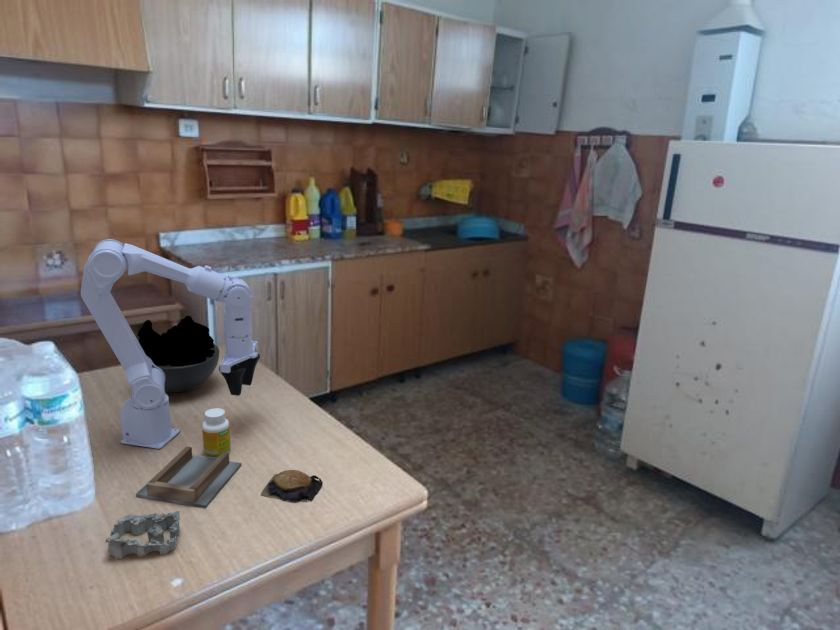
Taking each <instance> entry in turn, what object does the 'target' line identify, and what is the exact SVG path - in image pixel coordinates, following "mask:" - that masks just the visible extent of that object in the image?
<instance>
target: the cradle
mask: <svg viewBox="0 0 840 630" xmlns="http://www.w3.org/2000/svg"><path fill="white" fill-rule="evenodd" d="M229 454H230V453H228V452H223V453H222V454H221V455H220V456H219V457H218V458H217V459H212V458H207V457H206V456H204V457H203V456H198V455H193V447H192V446H185V447H184V448H183V449H181V451H180V452H179V453H178V454H176V456H174V457H173V458H172V459H171V460H170V461H169V462H168V463H167V464H166V465H165V466H164V467H162V469H161V470H160V471H158V473H156V474H155V475H154V476H153V477H152V478H151V479H150V480H149V481H148V482H147V483H145V485H144V486H143V487H141V488H140V490H138V491H137V492H136V494H135V497H136V498H141V499H147V500H154V501H161V502H165V503H166V502H167V503H173V504H177V505H185V506H191V507H197V508H203V509H207V508H208V506H209V505H210V504H211V503H212V501H213V500H214V499H215V498H216V497H217V495H218V494H219V493H220V492H221V490H222V489H223V488H224V487H225V486H226V485H227V483H228V482H230V480H231V479H232V478H233V476H234V475H235V474H236V473H237V471H238V470H239V469H240V468H241V467H242V462H238V461H237V462H236V461H231V460H230V455H229Z"/></svg>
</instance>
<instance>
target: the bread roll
mask: <svg viewBox="0 0 840 630" xmlns="http://www.w3.org/2000/svg"><path fill="white" fill-rule="evenodd" d="M323 483H324V482H323V481H322V479H321V478H320V477H319V476H317V475H314V474H313V475H311V476H310V475H308V474H307V473H305V472H303V471H300V470H298V469H287V470H283V471H281V472H279V473H275V474H273V475H272V477H271V478H270V479H269V480H268V483H267V484H266V485H265V487H263V490H262V491H261V492H260V496H261V497H265V498H271V499H273V500H274V499H275V500H282V501H287V502H297V503H309V502H310V503H312V502H313V501H314V499H315V498H316V497H317V494H318V493H319V492H320V491H321V489H323Z"/></svg>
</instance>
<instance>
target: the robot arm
mask: <svg viewBox="0 0 840 630" xmlns="http://www.w3.org/2000/svg"><path fill="white" fill-rule="evenodd" d="M127 270H128V272H127V275H128V276H132V275H137V274H140V273H143V272H146V273H149V274H153V275H156V276H159V277H162V278H166V279H169V280H172V281H176V282H178V283H183V284H184V285H185V287H186V288H187V291H188V292H190V293H193V294H196V295H198V296H201V297H204V298H207V299H210V300H213V301H216V302H219V303H220V302H222V303H224V314H223V315H224V317H223V318H224V332H225V333H224V336H225V337H224V338H225V353H224V355H223V358H222V361H221V362H220V363H219V366H218V371H219V373H220V374H221V375H222V377H223V378H224V380H225V382H226V384H227V387H228V390H229V393H230V395H232V396H237V397H240V396H241V394H242V389H243V387H242V386H251V385H252V384H253V383H252V382H253V379H254V374H255V371H256V370H255V369H256V367H257V365H258V362H259V360H260V358H261V355H260V353H258V352H256V351H257V350H258V349H259V342H258V341H256V340H253V323H252V322H253V321H252V320H253V319H252V318H253V317H252V314H253V313H252V312H251V309H252V306H251V305H252V303H253V301H254V297H253V295H252V292H251V288H250V287H249V285H248V284H247V282H246V281H245V280H244V279H241V278H240V277H238V276H234V275H231V274H228V276H227V275H225V274H222V273H219V272H217V271H214V270H212V266H210V265H204V267H203V266H201V265H197V266H195V267H192V268H189V267H186V266H184V265H181V264H179V263H177V262H175V261H172V260H170V259H167V258H164V257H163V256H161V255H158V254H155V253H152V252H150V251H148V250H146V249H143V248H140V247H138V246H136V245H133V244H130V243H124V244H123V243H122V242H120V241H119V240H116V239H110V238H109V239H108V238H107V239H104V240H101V241H99V242H97V244H96V245H95V246H94V247H93V250H92V251H91V253H90V255H89V257H88V258H87V261H86V262H85V263H84V266H83V273H82V280H81V287H80V297H81V299H82V300H83V302H84V304H85V306H86V307H87V309H88V311H89V313H90V314H91V316H92V318H93V319H94V321H95V323H96V324H97V326H98V328H99V329H100V331H101V333H102V334H103V336H104V337H105V339H106V341H107V343H108V344H109V346H110V348H111V350H112V351H113V353H114V355H115V356H116V358H117V359H118V361H119V363H120V365H121V366H122V368H123V371H124V372H125V376H126V380H127V383H128V386H129V387H130V389H131V398H128V399H126V400H125V402H124V403H123V404H122V406H121V408H120V413H119V416H120V417H119V418H120V424H121V425H120V426H121V434H122V439H121V440H120V443H121V444H125V445H130V446H131V445H132V446H137V447H138V446H139V447H144V448H145V447H146V448H151V449H157V450H159V449H160V450H161V449H162V448H163V447H165V445H167V444H168V443H169V442H170V441H171V440H172V439H173V438H174V437H176V436H177V435H178V434H179V433H180V432H181V429H179V428H174V427H172V423H171V419H172V418H171V411H170V409H171V408H170V399H169V395H168V394H167V393H166V391H165V390H164V383H165V374H164V372H163V371H162V370H161V369H160V368H159V367H157V366H155V365H154V363H153V362H152V360H151V359H150V358H149V357H147V356H146V354H145V353H144V351H143V349H142V347H141V346H140V344H139V339H137V337H136V334H135V333H134V332H133V329H132V328H131V326H130V324H129V323H128V321H127V319H126V318H125V316H124V314H123V312H122V311H121V309H120V307H119V305H118V304H117V302H116V300H115V298H114V296H113V295H112V293H111V291H112V288H113V286H114V283H116V281H118V280H119V279H120V278H121V277H122V275H123V274H124V273H125V271H127Z"/></svg>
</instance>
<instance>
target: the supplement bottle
mask: <svg viewBox="0 0 840 630" xmlns="http://www.w3.org/2000/svg"><path fill="white" fill-rule="evenodd" d="M204 419H205V420H204V421H203V422H202V427H201V431H202V441H203V442H202V445H203V455H204V457H205V458H212V459H217V458H218V457H219V456H220V455H221V454H222V453H223V452H228V453H229V454H230V453H231V433H230V421H229V420H228V419H227V418H226V411H225V409H223V408H219V407H218V408H217V407H216V408H210V409H207V410H206V411H205V412H204Z"/></svg>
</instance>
